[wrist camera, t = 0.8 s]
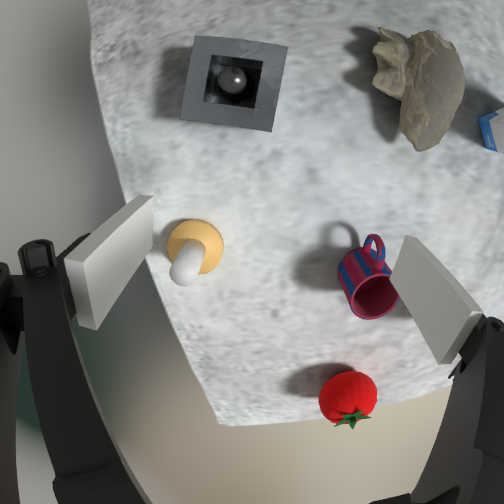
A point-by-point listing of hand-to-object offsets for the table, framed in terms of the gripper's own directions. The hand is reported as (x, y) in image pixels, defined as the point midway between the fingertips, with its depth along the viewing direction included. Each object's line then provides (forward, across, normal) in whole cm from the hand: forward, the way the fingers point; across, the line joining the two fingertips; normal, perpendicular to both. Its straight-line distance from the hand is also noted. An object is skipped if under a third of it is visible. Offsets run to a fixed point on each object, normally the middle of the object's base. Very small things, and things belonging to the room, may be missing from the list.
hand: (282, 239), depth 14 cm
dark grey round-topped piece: (+21, -5, +9) cm, 23 cm away
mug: (+21, +14, -10) cm, 27 cm away
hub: (+20, -8, -11) cm, 25 cm away
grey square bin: (+21, -5, +9) cm, 23 cm away
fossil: (+21, +14, +13) cm, 29 cm away
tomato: (+20, +20, -34) cm, 44 cm away
